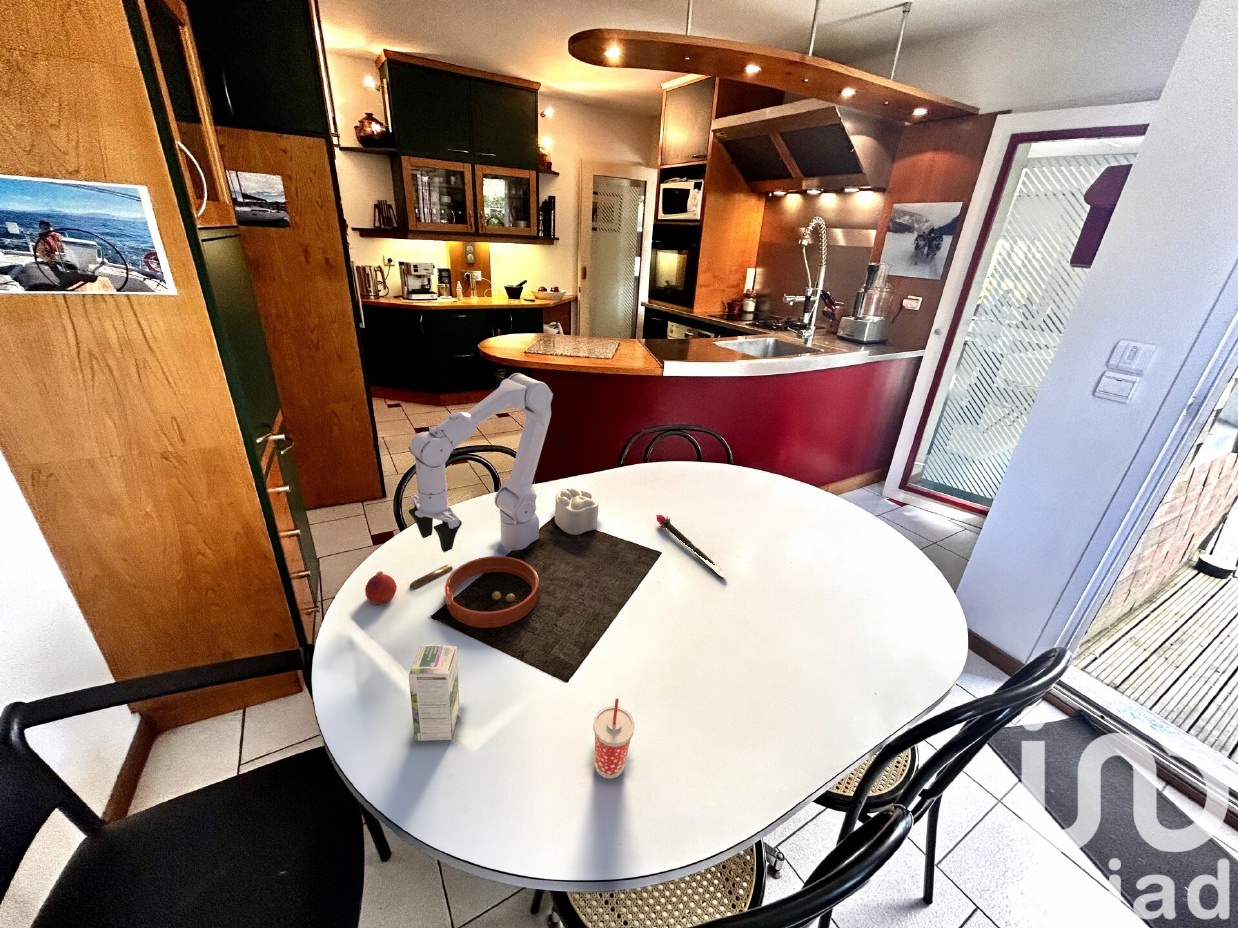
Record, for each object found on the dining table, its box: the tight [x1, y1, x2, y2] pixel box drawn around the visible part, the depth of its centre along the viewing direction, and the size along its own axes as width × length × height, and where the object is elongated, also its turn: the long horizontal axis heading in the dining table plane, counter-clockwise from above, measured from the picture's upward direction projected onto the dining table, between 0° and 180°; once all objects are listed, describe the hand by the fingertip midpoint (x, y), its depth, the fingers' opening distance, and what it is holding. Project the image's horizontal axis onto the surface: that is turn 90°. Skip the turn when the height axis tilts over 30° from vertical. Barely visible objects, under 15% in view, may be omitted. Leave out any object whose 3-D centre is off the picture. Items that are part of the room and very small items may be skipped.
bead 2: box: [505, 593, 516, 603], centre depth 106 cm, size 2×2×2 cm
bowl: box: [444, 555, 539, 629], centre depth 106 cm, size 19×19×5 cm
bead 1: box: [491, 591, 502, 600], centre depth 106 cm, size 2×2×2 cm
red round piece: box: [364, 570, 398, 605], centre depth 102 cm, size 6×6×8 cm
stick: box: [409, 564, 453, 590], centre depth 110 cm, size 10×2×2 cm, turn 143°
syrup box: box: [408, 644, 460, 742], centre depth 76 cm, size 6×6×14 cm
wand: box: [655, 514, 716, 565], centre depth 131 cm, size 4×4×30 cm
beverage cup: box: [592, 697, 636, 780], centre depth 73 cm, size 6×6×14 cm
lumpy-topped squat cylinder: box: [554, 487, 599, 536], centre depth 138 cm, size 10×13×9 cm
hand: (437, 542), depth 108 cm, fingers open, 7 cm apart
